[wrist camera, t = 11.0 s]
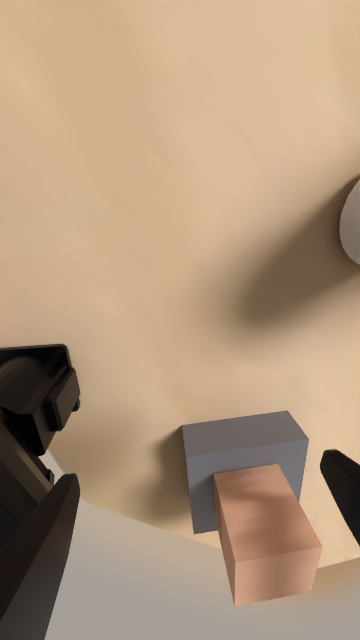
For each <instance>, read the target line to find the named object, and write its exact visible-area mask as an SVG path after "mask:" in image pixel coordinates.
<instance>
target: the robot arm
mask: <svg viewBox="0 0 360 640" xmlns="http://www.w3.org/2000/svg"><path fill="white" fill-rule="evenodd" d="M58 349H61V350H62V351H63V352H60V351H59V350H58ZM79 395H80V389H79V384H78V380H77V376H76V371H75V369H74V368H73V367H72V365H71V361H70V356H69V352H68V348H67V347H66V346H65V345H63V344H52V345H38V346H23V347H9V348H0V640H44V639H45V636H46V632H47V628H48V625H49V622H50V618H51V615H52V611H53V607H54V604H55V600H56V597H57V593H58V590H59V586H60V583H61V579H62V576H63V572H64V569H65V565H66V562H67V558H68V554H69V549H70V544H71V539H72V534H73V528H74V523H75V519H76V513H77V508H78V503H79V498H80V486H79V482H78V478H77V475H76V474H75V473H71V474H64V475H63V476H61V478H60V479H59V480H58V481H57V483H56V484H55V485H54V474H53V473H52V471H51V470H50V469H47V468H46V467H45V466H44V464H43V463H42V461H41V460H40V459H39V458H38V456H42V455H44V454H45V452H46V450H47V448H48V446H49V444H50V443H51V441H52V439H53V437H54V435H55V433H56V431H61V430H62V429H63V428H64V427H65V424H66V422H67V420H68V418H69V416H70V414H71V412H74V411H77V410H78V409H79V407H80V400H79ZM320 470H321V473H322V475H323V477H324V479H325V481H326V483H327V485H328V487H329V489H330V491H331V493H332V495H333V498H334V500H335V502H336V504H337V506H338V508H339V510H340V512H341V514H342V516H343V518H344V520H345V522H346V523H347V525H348V527H349V529H350V530H351V532H352V534H353V536H354V537H355V539H356V541H357V542H358V544H359V546H360V465H359V464H358V463H356V462H355V461H353V460H352V459H350V458H349V457H347V456H346V455H344V454H343V453H341V452H340V451H338V450H336V449H330V450H325V451H324V453H323V456H322V459H321V463H320Z"/></svg>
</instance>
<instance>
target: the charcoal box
mask: <svg viewBox="0 0 360 640" xmlns="http://www.w3.org/2000/svg"><path fill="white" fill-rule="evenodd" d="M182 432H183V441H184V451H185V461H186V471H187V481H188V490H189V500H190V508H191V516H192V524H193V531H194V534H198V533H204V532H210V531H216V530H218V527H217V522H216V518H215V501H214V473H221V472H227V471H233V470H240V469H246V468H253V467H259V466H265V465H272V464H278V465H279V467H280V468H281V470H282V472H283V474H284V476H285V478H286V480H287V482H288V483H289V485H290V487H291V489H292V491H293V493H294V495H295V496H296V498H297V500H298V502H299V499H300V492H301V486H302V480H303V474H304V467H305V461H306V455H307V448H308V442H309V439H308V437H307V436H306V435H305V433H304V432H303V431H302V429H301V428H300V427H299V425H298V424H297V423H296V421H295V420H294V419H293V417H292V416H291V414H290V413H289V412H288V411H281V412H274V413H267V414H260V415H253V416H245V417H238V418H231V419H224V420H217V421H209V422H202V423H195V424H188V425H182Z"/></svg>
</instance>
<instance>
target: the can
mask: <svg viewBox="0 0 360 640" xmlns="http://www.w3.org/2000/svg"><path fill="white" fill-rule="evenodd" d="M339 232H340V238H341V243H342V247H343V249H344V250H345V252H346V254H347V255H348V257H349V258H350V259H351V260H353V261H354V262H356V263H357V264H358V265H360V179H359V180H358V182H357V183H356V185H355V186H354V188H353V189H352V191H351V192H350V194H349V195H348V197H347V200H346V203H345V205H344V208H343V210H342V213H341V220H340V228H339Z"/></svg>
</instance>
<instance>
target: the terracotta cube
mask: <svg viewBox="0 0 360 640" xmlns="http://www.w3.org/2000/svg"><path fill="white" fill-rule="evenodd" d="M214 501H215V518H216V522H217V527H218V532H219V536H220V541H221V546H222V550H223V555H224V560H225V564H226V569H227V574H228V578H229V583H230V588H231V592H232V597H233V602H234V606H240V605H245V604H250V603H255V602H261V601H266V600H271V599H276V598H281V597H285V596H291V595H296V594H301V593H306V592H311V589H312V585H313V581H314V577H315V573H316V569H317V565H318V562H319V558H320V554H321V550H322V545H321V543H320V541H319V539H318V538H317V536H316V534H315V532H314V530H313V528H312V526H311V525H310V523H309V521H308V519H307V517H306V515H305V513H304V511H303V510H302V508H301V506H300V504H299V502H298V500H297V498H296V496H295V495H294V493H293V491H292V489H291V487H290V485H289V483H288V482H287V480H286V478H285V476H284V474H283V472H282V470H281V468H280V467H279V465H278V464H272V465H265V466H259V467H253V468H246V469H240V470H233V471H227V472H221V473H214Z"/></svg>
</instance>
